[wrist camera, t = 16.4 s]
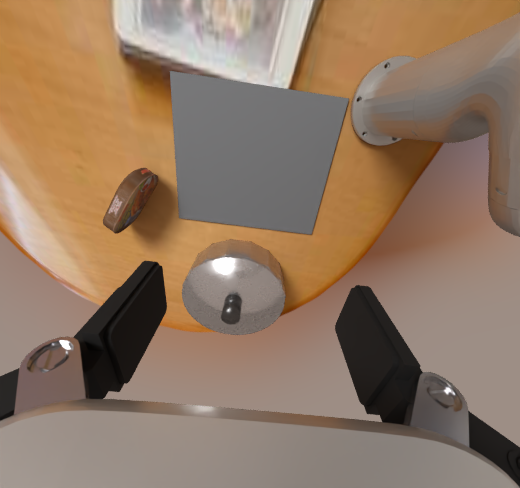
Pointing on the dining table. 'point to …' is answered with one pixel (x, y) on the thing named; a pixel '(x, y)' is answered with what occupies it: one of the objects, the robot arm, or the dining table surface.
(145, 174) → the tin
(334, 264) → the dining table surface
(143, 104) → the dining table surface
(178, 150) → the rubber mat
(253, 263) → the lidded metal pot
